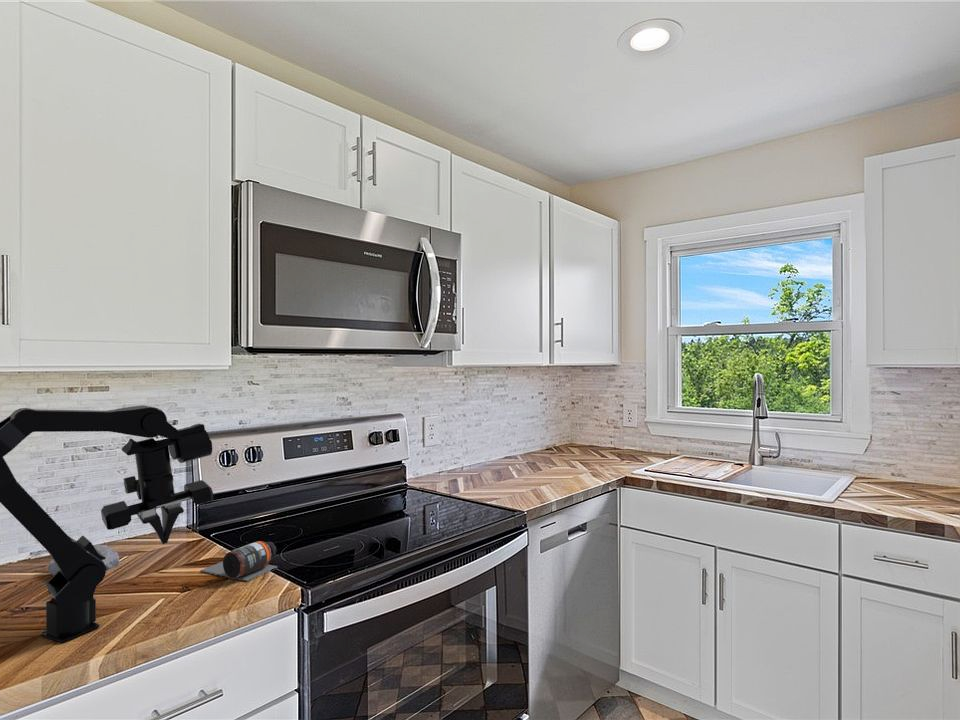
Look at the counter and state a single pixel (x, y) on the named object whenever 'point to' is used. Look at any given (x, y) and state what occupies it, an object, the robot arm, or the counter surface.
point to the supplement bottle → (248, 558)
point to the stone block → (110, 560)
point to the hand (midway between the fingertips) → (164, 542)
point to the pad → (219, 570)
